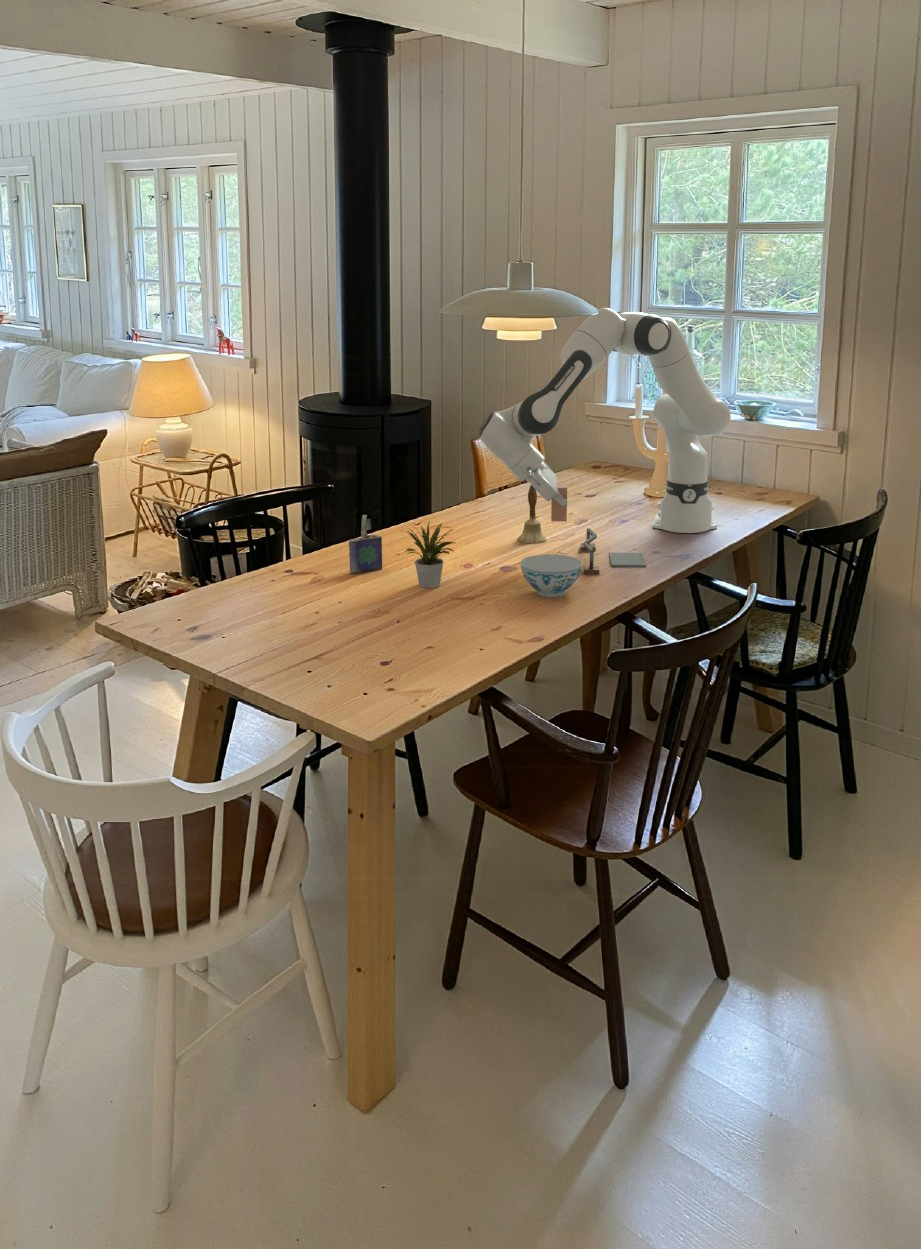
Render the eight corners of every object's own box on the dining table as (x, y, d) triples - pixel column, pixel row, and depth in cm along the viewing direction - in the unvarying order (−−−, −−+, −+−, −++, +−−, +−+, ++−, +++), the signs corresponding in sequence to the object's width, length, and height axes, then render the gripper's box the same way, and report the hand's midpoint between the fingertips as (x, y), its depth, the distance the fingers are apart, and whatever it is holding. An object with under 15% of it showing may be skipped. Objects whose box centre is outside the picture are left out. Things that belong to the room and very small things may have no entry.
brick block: (551, 517, 292) (551, 484, 289) (566, 517, 292) (566, 484, 289) (551, 521, 289) (551, 487, 286) (566, 521, 288) (567, 487, 285)
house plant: (409, 598, 264) (407, 532, 259) (389, 582, 276) (387, 519, 271) (463, 590, 270) (462, 525, 264) (441, 575, 282) (440, 513, 276)
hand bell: (544, 544, 310) (545, 488, 304) (515, 543, 311) (516, 487, 306) (548, 536, 317) (549, 482, 312) (520, 535, 319) (520, 481, 314)
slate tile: (608, 554, 299) (609, 552, 299) (642, 554, 298) (642, 552, 298) (611, 566, 287) (611, 564, 287) (646, 567, 287) (646, 565, 287)
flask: (352, 575, 283) (350, 534, 279) (347, 572, 285) (345, 532, 282) (384, 569, 287) (383, 530, 284) (379, 567, 290) (378, 527, 286)
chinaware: (587, 601, 260) (588, 570, 258) (524, 603, 259) (524, 572, 257) (575, 582, 275) (576, 553, 272) (516, 584, 273) (516, 555, 271)
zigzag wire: (580, 547, 306) (581, 526, 304) (594, 547, 306) (595, 526, 304) (583, 574, 281) (584, 551, 279) (599, 574, 281) (600, 551, 279)
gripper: (536, 464, 275) (575, 502, 278) (537, 449, 295) (573, 485, 297) (519, 481, 277) (557, 519, 280) (520, 466, 297) (556, 501, 299)
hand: (565, 501), depth 289 cm, fingers closed on brick block, 4 cm apart
